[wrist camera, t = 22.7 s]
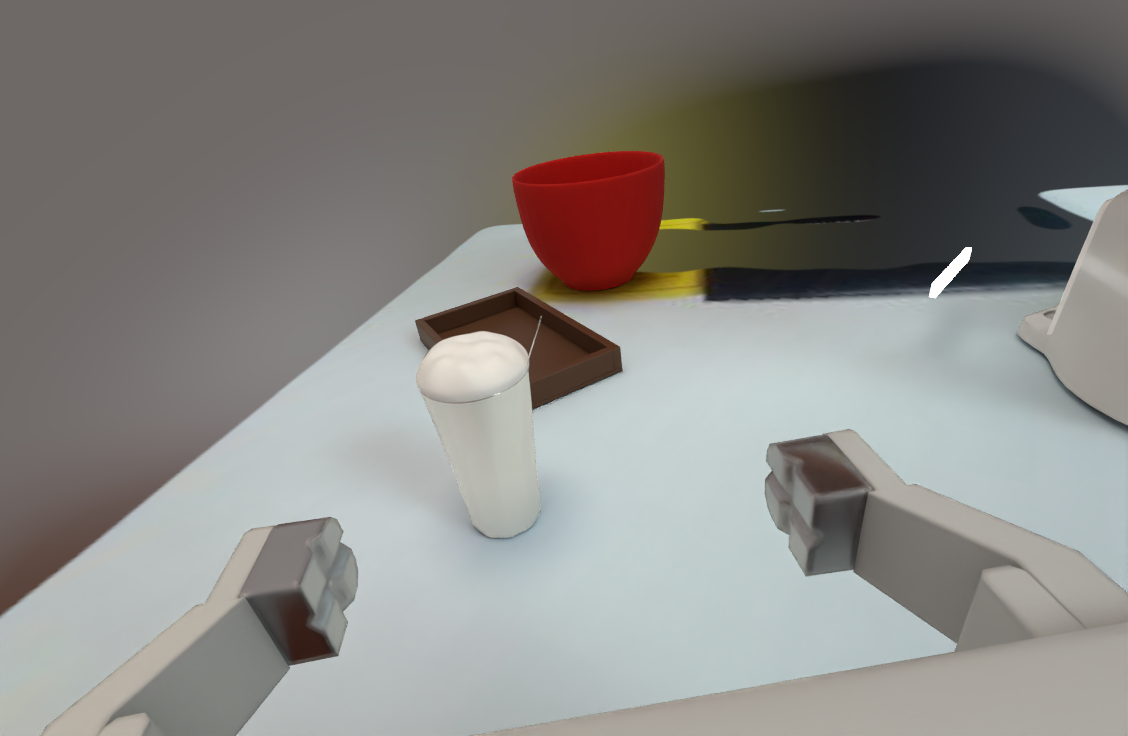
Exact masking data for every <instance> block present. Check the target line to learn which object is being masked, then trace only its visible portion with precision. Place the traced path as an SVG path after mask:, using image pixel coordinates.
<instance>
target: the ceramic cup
mask: <svg viewBox="0 0 1128 736" xmlns="http://www.w3.org/2000/svg"><path fill="white" fill-rule="evenodd" d="M664 173H665V171H664V160H663V157H662V156H661V155H659V154H656V153H652V152H642V151H620V152H605V153H595V154H587V155H580V156H574V157H568V158H563V159H557V160H553V161H549V162H545V163H541V164H537V165H534V166H531V167H528V168H526V169H524V170H521V171H519V172H518V173H516V174H515V175H514V176H513V177H512V181H513V188H514V193H515V198H516V201H517V206H518V210H519V213H520V217H521V221H522V224H523V227H524V230H525V233H526V236H527V238H528V241H529V243H530V245H531V247H532V249H533V250H534V252H535V254H536V255H537V257H538V258H539V259H540V261H541V262H542V263H543V264H544V265H545V266H546V267H547V268H548V269H549V270H550V271H551V272H552V273H553V274H554V275H555V276H556V277H557V278H559V279H560V280H561V281H563V282H564V284H565V285H566V286H567V287H569V288H572V289H577V290H586V291H592V290H603V289H609V288H613V287H616V286H619V285H622V284H624V283H626V282H628V281H629V280H631V279H632V278H633V276H634V273H635V272H636V271H637V270H638V268H639V267H640V266H641V265H642V264H643V262H644V261H645V259H646V258H647V256H648V254H649V253H650V251H651V249H652V246H653V245H654V242H655V240H656V237H657V234H658V231H659V227H660V223H661V217H662V211H663V201H664V178H665V177H664V176H665V174H664Z"/></svg>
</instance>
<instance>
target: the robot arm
mask: <svg viewBox="0 0 1128 736" xmlns="http://www.w3.org/2000/svg"><path fill="white" fill-rule="evenodd" d="M971 249H972V248H967V247H966V248H965V250H963V251H962V252H961V254H959V256H958V257H957V258H956V259H955V260H954V261H953V262H952V263H951V264H950V265H949V266H948V267H947V268H946V269H945V270H944V271H943V273H942V274H941V275H940V276H939V277H938V278H937V279H936V280H935V281H934V282H933V283H932V286H931V291H930V296H929V297H932V298H936V297H937V295H938V294H939V293H940V292H941V291H942V290H943V289H944V288H945V286H946V285H947V284H948V283H949V282H950V281H951V280H952V279H953V277H954V276H955V275H956V274H957V273H958V272H959V271H960V270H961V269H962V267H963V266H964V265H965V264H966V263H967V262H968V261H969V258H970V253H971ZM1017 334H1018V336H1019V337H1020V338H1021V339H1023V340H1024V341H1025V342H1026V343H1028V344H1029V345H1031V346H1032V347H1034V348H1035V349H1037V350H1038V351H1040V352H1042V353H1043V354H1044V355H1045V356H1046V357H1047V358H1048V360H1049V362H1050V364H1051V366H1052V368H1053V370H1054V372H1055V374H1056V375H1057V377H1058V378H1059V379H1060V381H1061V382H1062V383H1063V384H1064V385H1065V386H1066V387H1067V388H1068V389H1069V390H1070V391H1071V392H1072V393H1074V394H1075V395H1076V396H1078V397H1079V398H1080V399H1082V400H1083V401H1084V402H1086V403H1087V404H1089V405H1090V406H1092V407H1094V408H1095V409H1097V410H1099V411H1100V412H1102V413H1104V414H1106V415H1107V416H1109V417H1111V418H1113V419H1115V420H1117V421H1119V422H1121V423H1123V424H1125V425H1127V426H1128V190H1126V191H1124V192H1122V193H1120V194H1119V195H1117V196H1116V197H1115V198H1112V199H1109V200H1107V201H1106V202H1105V203H1104V204H1103V205H1102V206H1101V208H1100V209H1099V211H1098V213H1097V215H1096V217H1095V220H1094V222H1093V224H1092V227H1091V229H1090V231H1089V234H1088V236H1087V238H1086V241H1085V243H1084V245H1083V248H1082V250H1081V253H1080V255H1079V257H1078V260H1077V262H1076V264H1075V267H1074V269H1073V272H1072V274H1071V276H1070V279H1069V281H1068V284H1067V286H1066V288H1065V291H1064V293H1063V296H1062V298H1061V300H1060V303H1059V305H1058V306H1055V307H1052V308H1049V309H1045V310H1042V311H1039V312H1036V313H1033V314H1030V315H1028V316H1026V317H1024V318H1023V320H1022V322H1021V324H1020V327H1019V329H1018V331H1017ZM766 462H767V463H768V465H769V466H770V468H771V469H772V472H771V473H770V474H769V475H768V476H767V478H766V479H765V497H766V502H767V507H768V510H769V512H770V515H771V517H772V519H773V521H774V523H775V525H776V527H777V528H778V529H779V530H781V531H783V532H784V533H786V534H788V535H789V549H790V551H791V552H792V554H793V556H794V557H795V559H796V561H797V562H798V564H799V566H800V567H801V569H802V571H803V572H804V574H805V576H812V575H819V574H826V573H833V572H840V571H847V570H854V573H856V574H857V575H859V576H860V577H862V578H863V579H864V580H866V581H867V582H869V583H870V584H872V585H873V586H875V587H876V588H877V589H879V590H880V591H882V592H883V593H885V594H886V595H888V596H889V597H890V598H892V599H893V600H895V601H896V602H898V603H899V604H901V605H902V606H903V607H905V608H906V609H908V610H909V611H911V612H912V613H914V614H915V615H916V616H918V617H919V618H921V619H922V620H924V621H925V622H927V623H928V624H929V625H931V626H932V627H934V628H935V629H937V630H938V631H940V632H941V633H942V634H944V635H945V636H947V637H948V638H950V639H951V640H953V641H954V642H955V643H957V645H956V648H955V651H954V652H951V653H945V654H939V655H933V656H928V657H922V658H916V659H910V660H904V661H899V662H893V663H887V664H881V665H875V666H870V667H864V668H858V669H852V670H846V671H841V672H835V673H829V674H823V675H817V676H812V677H806V678H800V679H795V680H789V681H783V682H777V683H772V684H766V685H760V686H755V687H749V688H743V689H737V690H732V691H726V692H720V693H714V694H709V695H703V696H697V697H692V698H686V699H680V700H674V701H669V702H663V703H657V704H651V705H646V706H640V707H634V708H628V709H623V710H617V711H611V712H605V713H599V714H593V715H588V716H582V717H576V718H570V719H564V720H559V721H553V722H547V723H541V724H535V725H529V726H524V727H518V728H512V729H506V730H500V731H495V732H489V733H483V734H477V735H471V736H1128V593H1127V592H1126V591H1125V590H1124V589H1122V588H1121V587H1120V586H1119V585H1118V584H1116V583H1115V582H1114V581H1113V580H1112V579H1111V578H1109V577H1108V576H1107V575H1106V574H1105V573H1104V572H1102V571H1101V570H1100V569H1099V568H1098V567H1097V566H1095V565H1094V564H1093V563H1092V562H1091V561H1090V560H1088V559H1087V558H1086V557H1085V556H1084V555H1083V554H1081V553H1080V552H1079V551H1077V550H1074V549H1072V548H1070V547H1067V546H1065V545H1062V544H1060V543H1057V542H1055V541H1053V540H1050V539H1048V538H1045V537H1043V536H1040V535H1038V534H1036V533H1033V532H1031V531H1028V530H1026V529H1023V528H1021V527H1019V526H1016V525H1014V524H1011V523H1009V522H1006V521H1004V520H1002V519H999V518H997V517H994V516H992V515H989V514H987V513H985V512H982V511H980V510H977V509H975V508H972V507H970V506H968V505H965V504H963V503H960V502H958V501H955V500H953V499H951V498H948V497H946V496H943V495H941V494H938V493H936V492H934V491H931V490H929V489H926V488H924V487H921V486H919V485H917V484H913V485H906V484H905V483H904V482H903V480H902V479H901V478H900V477H899V476H898V475H897V474H896V473H895V472H894V471H893V470H892V469H891V468H890V467H889V466H888V465H887V464H886V463H885V462H884V461H883V460H882V459H881V458H880V457H879V456H878V455H877V453H876V452H875V451H874V450H873V449H872V448H871V447H870V446H869V445H868V444H867V443H866V442H865V441H864V440H863V439H862V438H861V437H860V436H859V435H858V434H857V433H856V432H855V431H853V430H850V429H847V430H842V431H837V432H831V433H826V434H822V435H818V436H812V437H806V438H801V439H795V440H789V441H783V442H778V443H772V444H769V447H768V449H767V456H766ZM342 534H343V530H342V528H341V526H340V524H339V522H338V520H337V519H335V518H332V517H327V518H320V519H313V520H306V521H299V522H292V523H285V524H278V525H276V526H268V527H261V528H254V529H251V530H249V531H248V532H246V533H245V534H244V535H243V536H242V538H241V540H240V542H239V543H238V545H237V547H236V549H235V551H234V552H233V554H232V556H231V558H230V559H229V561H228V563H227V565H226V567H225V568H224V570H223V572H222V574H221V575H220V577H219V579H218V581H217V583H216V584H215V586H214V588H213V590H212V591H211V593H210V595H209V597H208V599H207V600H206V602H205V604H201V605H196V606H194V607H193V608H192V609H191V610H189V611H188V612H187V613H186V614H184V615H183V616H182V617H181V618H179V619H178V620H177V621H176V622H175V623H173V624H172V625H171V626H170V627H168V628H167V629H166V630H165V631H163V632H162V633H161V634H160V635H159V636H157V637H156V638H155V639H154V640H152V641H151V642H150V643H149V644H147V645H146V646H145V647H144V648H142V649H141V650H140V651H139V652H138V653H136V654H135V655H134V656H133V657H131V658H130V659H129V660H128V661H126V662H125V663H124V664H123V665H122V666H120V667H119V668H118V669H117V670H115V671H114V672H113V673H112V674H110V675H109V676H108V677H107V678H105V679H104V680H103V681H102V682H101V683H99V684H98V685H97V686H96V687H94V688H93V689H92V690H91V691H89V692H88V693H87V694H86V695H85V696H83V697H82V698H81V699H80V700H78V701H77V702H76V703H75V704H73V705H72V706H71V707H70V708H68V709H67V710H66V711H65V712H64V713H62V714H61V715H60V716H59V717H57V718H56V719H55V720H54V721H52V722H51V723H50V724H49V725H48V726H46V727H45V729H44V730H43V732H42V733H41V735H40V736H236V735H237V734H238V732H239V731H240V730H241V729H242V727H243V726H244V725H245V724H246V723H247V721H248V720H249V719H250V718H251V716H252V715H253V714H254V713H255V711H256V710H257V709H258V708H259V706H260V705H261V704H262V703H263V701H264V700H265V699H266V698H267V696H268V695H269V694H270V693H271V691H272V690H273V689H274V688H275V686H276V685H277V684H278V683H279V681H280V680H281V679H282V678H283V676H284V675H285V674H286V673H287V671H288V670H289V669H290V667H289V666H290V665H295V664H300V663H305V662H310V661H315V660H321V659H326V658H331V657H336V656H338V655H339V651H340V648H341V644H342V641H343V637H344V634H345V630H346V627H347V624H348V621H347V619H346V617H345V615H344V613H343V611H344V610H345V609H346V608H347V607H348V606H349V605H350V604H351V603H352V602H353V601H354V599H355V595H356V591H357V587H358V567H357V563H356V558H355V556H354V554H353V551H352V549H351V548H349V547H347V546H346V545H344V544H342V543H341V542H340V540H341V537H342Z"/></svg>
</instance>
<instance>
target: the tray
mask: <svg viewBox="0 0 1128 736" xmlns="http://www.w3.org/2000/svg"><path fill="white" fill-rule="evenodd" d="M541 316H542V319H541V322H540V325H539V328H538V332H537V335H536V338H535V342H534V345H533V348H532V352H531V355H530V358H529V367H530V383H531V400H532V409H534V408H536V407H538V406H541V405H543V404H546V403H548V402H550V401H553V400H555V399H557V398H560V397H562V396H564V395H567V394H569V393H571V392H574V391H576V390H578V389H581V388H583V387H585V386H588V385H590V384H592V383H595V382H597V381H599V380H602V379H604V378H606V377H609V376H611V375H613V374H616V373H618V372H621V371H622V363H621V352H620V347H619V346H618V345H616V344H614V343H612V342H611V341H609V340H607V339H606V338H604V337H602V336H600V335H599V334H597V333H595V332H594V331H592V330H590V329H589V328H587V327H585V326H583V325H582V324H580V323H578V322H577V321H575V320H573V319H571V318H570V317H568V316H566V315H565V314H563V313H561V312H559V311H558V310H556V309H554V308H553V307H551V306H549V305H548V304H546V303H544V302H542V301H541V300H539V299H537V298H536V297H534V296H532V295H530V294H529V293H527V292H525V291H524V290H522V289H520V288H518V287H516V288H513V289H510V290H507V291H504V292H501V293H498V294H495V295H492V296H489V297H486V298H483V299H480V300H477V301H473V302H470V303H467V304H464V305H461V306H458V307H455V308H452V309H449V310H446V311H443V312H440V313H437V314H434V315H431V316H428V317H424V318H423V319H418V320H416V321H415V322H416V326H417V329H418V333H419V336H420V340H421V341H422V342H423V343H424V345H425V346H426V347H427V348H428V349H429V350H430V349H431V348H432V347H433V346H434V345H436V344H437V343H438V342H440V341H442V340H445V339H447V338H450V337H454V336H458V335H464V334H470V333H474V332H479V331H486V332H491V333H496V334H501V335H505V336H507V337H510V338H512V339H514V340H515V341H517V342H518V343H520V344H521V345H522V346H523V347H524V348H525V350H526V351H527V353H528V356H529V353H530V350H531V347H532V343H533V340H534V337H535V333H536V330H537V327H538V323H539V320H540V317H541Z"/></svg>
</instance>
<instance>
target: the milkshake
mask: <svg viewBox="0 0 1128 736" xmlns="http://www.w3.org/2000/svg"><path fill="white" fill-rule="evenodd" d="M541 319H542V316H541V317H540V320H539V323H538V327H537V330H536V333H535V337H534V340H533V343H532V347H531V350H530V353H529V356H528V353H527V351H526V350H525V348H524V347H523V346H522V345H521V344H520V343H518V342H517V341H515V340H514V339H512V338H510V337H507V336H505V335H501V334H496V333H491V332H486V331H479V332H474V333H470V334H464V335H458V336H454V337H450V338H447V339H445V340H442V341H440V342H438V343H437V344H436V345H434V346H433V347H432V348H431V349H430V351H429V352H428V354H427V355H426V356H425V357H424V359H423V360H422V362H421V364H420V366H419V369H418V371H417V376H416V381H417V385H418V388H419V390H420V393H421V395H422V397H423V400H424V402H425V404H426V407H427V409H428V411H429V414H430V416H431V418H432V421H433V423H434V425H435V428H436V430H437V432H438V435H439V437H440V440H441V442H442V444H443V447H444V450H445V452H446V455H447V457H448V460H449V463H450V465H451V468H452V470H453V473H454V476H455V478H456V481H457V483H458V486H459V489H460V491H461V494H462V496H463V499H464V502H465V504H466V507H467V509H468V512H469V515H470V517H471V520H472V522H473V525H474V527H475V528H476V529H477V530H479V531H480V532H482V533H483V534H485V535H486V536H487V537H489V538H512V537H513V536H515V535H517V534H519V533H521V532H523V531H525V530H527V529H529V528H531V527H532V525H533V523H534V522H535V520H536V519H537V517H538V515H539V514H540V512H541V508H540V497H539V486H538V476H537V466H536V455H535V445H534V434H533V419H532V400H531V383H530V367H529V358H530V355H531V352H532V348H533V345H534V342H535V338H536V335H537V332H538V328H539V325H540V322H541Z"/></svg>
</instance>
